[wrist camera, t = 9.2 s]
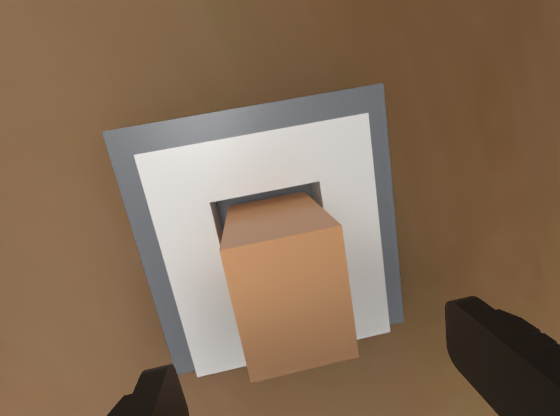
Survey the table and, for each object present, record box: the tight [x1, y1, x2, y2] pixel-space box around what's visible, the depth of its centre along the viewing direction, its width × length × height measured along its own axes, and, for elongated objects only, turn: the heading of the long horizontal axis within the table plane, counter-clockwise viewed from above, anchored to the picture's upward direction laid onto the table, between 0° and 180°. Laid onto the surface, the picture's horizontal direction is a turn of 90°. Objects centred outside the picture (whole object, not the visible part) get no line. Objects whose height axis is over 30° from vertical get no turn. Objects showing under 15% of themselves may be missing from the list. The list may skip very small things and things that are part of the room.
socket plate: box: [102, 83, 404, 377], centre depth 19 cm, size 16×16×4 cm
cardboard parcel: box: [219, 192, 359, 383], centre depth 15 cm, size 4×6×8 cm
